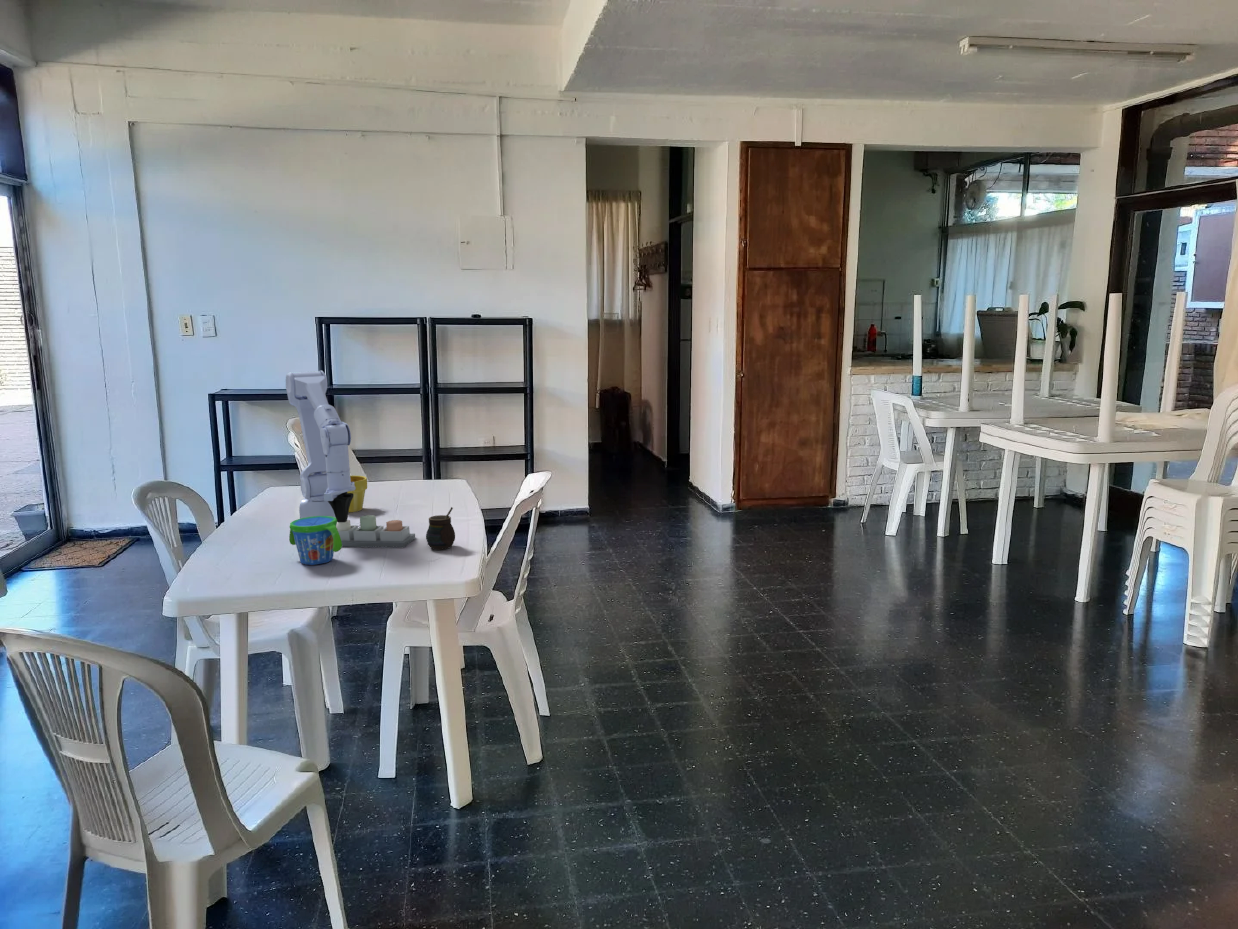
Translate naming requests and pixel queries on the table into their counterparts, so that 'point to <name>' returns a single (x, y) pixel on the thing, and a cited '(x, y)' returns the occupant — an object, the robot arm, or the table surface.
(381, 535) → the button panel
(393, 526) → the terracotta button
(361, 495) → the plant pot
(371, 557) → the table surface
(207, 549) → the table surface
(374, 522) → the sage button
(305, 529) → the snack cup
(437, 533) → the mate gourd
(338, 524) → the cream button
